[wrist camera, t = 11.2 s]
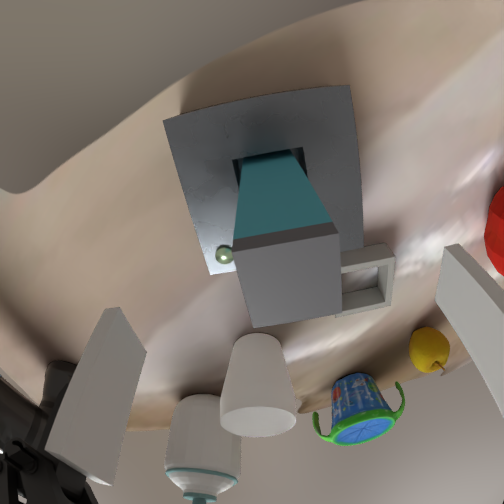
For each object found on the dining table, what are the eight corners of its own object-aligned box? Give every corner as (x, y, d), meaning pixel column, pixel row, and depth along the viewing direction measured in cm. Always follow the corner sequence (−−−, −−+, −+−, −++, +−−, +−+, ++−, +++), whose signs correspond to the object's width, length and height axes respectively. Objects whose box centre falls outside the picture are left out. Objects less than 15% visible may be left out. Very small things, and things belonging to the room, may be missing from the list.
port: (216, 244, 31) (210, 276, 26) (179, 114, 24) (161, 121, 19) (347, 221, 30) (364, 249, 25) (330, 85, 23) (350, 85, 18)
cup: (269, 316, 37) (274, 397, 26) (300, 353, 41) (309, 426, 30) (211, 340, 39) (202, 416, 29) (246, 373, 43) (245, 442, 33)
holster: (330, 301, 35) (335, 317, 33) (327, 253, 32) (333, 268, 29) (382, 290, 35) (390, 305, 32) (385, 242, 31) (395, 256, 29)
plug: (252, 195, 28) (253, 328, 13) (243, 154, 26) (231, 252, 11) (294, 187, 27) (342, 313, 12) (287, 146, 25) (339, 233, 10)
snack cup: (393, 352, 41) (413, 403, 33) (394, 383, 46) (408, 427, 38) (301, 381, 44) (308, 435, 36) (315, 407, 49) (321, 454, 41)
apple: (435, 336, 40) (454, 372, 33) (402, 350, 41) (418, 389, 34) (438, 310, 37) (460, 348, 30) (401, 325, 38) (420, 367, 31)
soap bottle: (163, 390, 46) (135, 553, 20) (229, 384, 45) (220, 569, 18) (192, 421, 53) (177, 558, 26) (250, 416, 51) (249, 565, 24)
